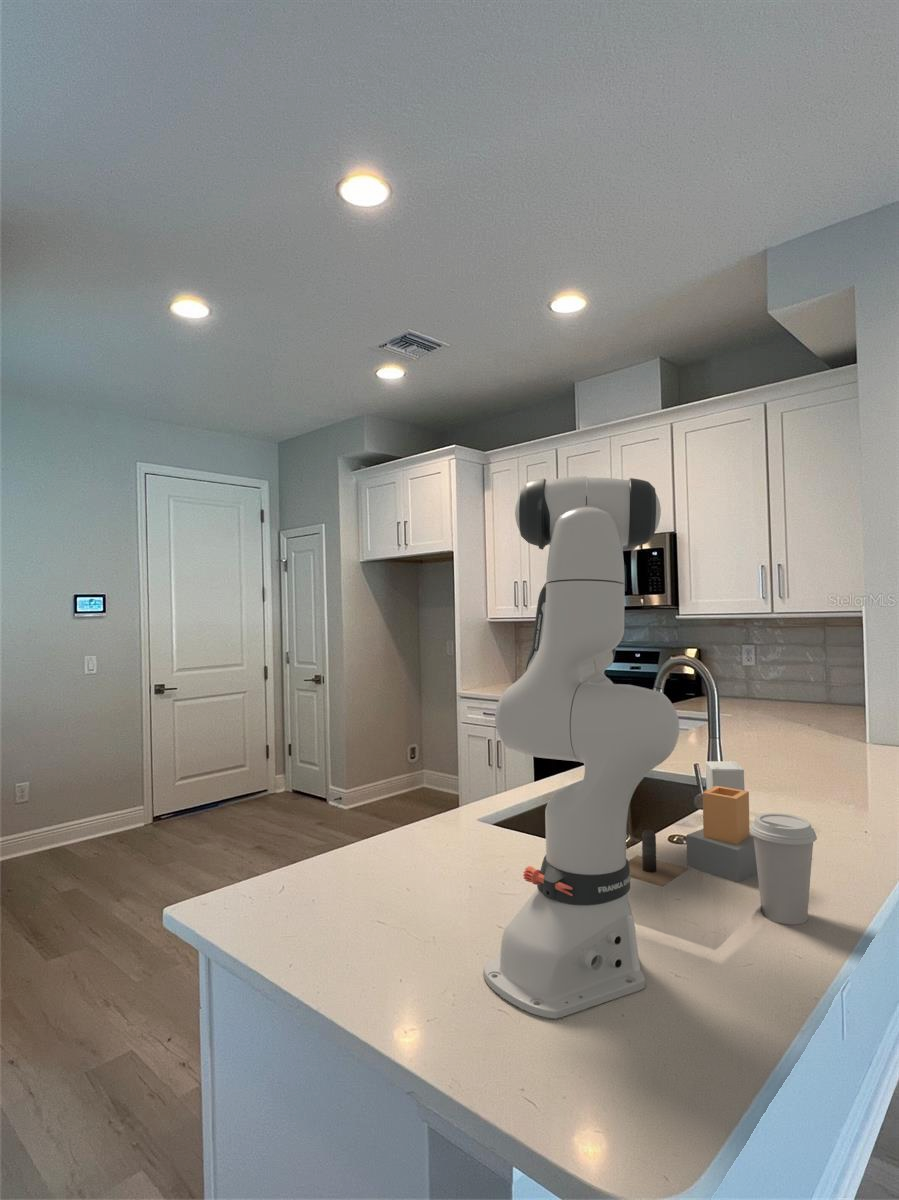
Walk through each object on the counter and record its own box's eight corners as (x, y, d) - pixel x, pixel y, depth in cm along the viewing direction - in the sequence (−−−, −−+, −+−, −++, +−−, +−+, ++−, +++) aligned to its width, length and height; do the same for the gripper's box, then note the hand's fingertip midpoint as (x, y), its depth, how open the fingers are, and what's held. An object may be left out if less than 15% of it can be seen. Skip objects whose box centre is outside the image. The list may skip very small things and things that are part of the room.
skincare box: (747, 848, 139) (745, 770, 139) (712, 846, 140) (711, 769, 140) (738, 833, 147) (737, 760, 147) (705, 832, 149) (704, 759, 149)
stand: (663, 894, 118) (662, 843, 118) (610, 879, 125) (609, 831, 125) (688, 876, 126) (687, 828, 126) (637, 863, 132) (636, 817, 132)
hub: (738, 890, 119) (736, 814, 119) (687, 873, 127) (685, 801, 127) (768, 875, 125) (767, 802, 125) (718, 859, 133) (716, 790, 133)
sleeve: (737, 844, 122) (736, 798, 122) (703, 836, 126) (702, 792, 126) (749, 835, 126) (748, 791, 126) (716, 828, 130) (716, 785, 130)
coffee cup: (737, 908, 113) (736, 815, 113) (783, 898, 116) (781, 808, 116) (785, 934, 104) (783, 834, 104) (832, 922, 107) (831, 825, 107)
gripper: (584, 699, 133) (631, 757, 126) (636, 689, 148) (680, 740, 141) (564, 720, 136) (610, 778, 129) (617, 708, 151) (660, 759, 144)
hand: (647, 758), depth 135 cm, fingers open, 8 cm apart
